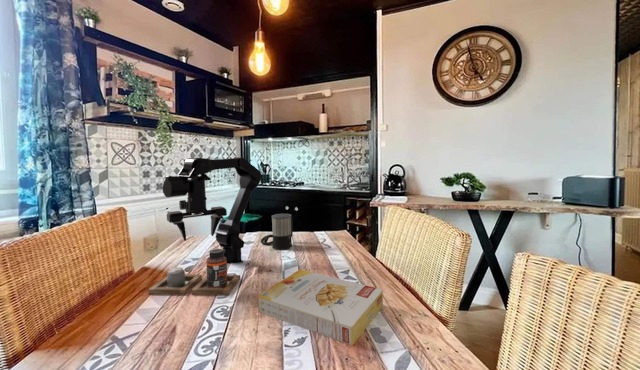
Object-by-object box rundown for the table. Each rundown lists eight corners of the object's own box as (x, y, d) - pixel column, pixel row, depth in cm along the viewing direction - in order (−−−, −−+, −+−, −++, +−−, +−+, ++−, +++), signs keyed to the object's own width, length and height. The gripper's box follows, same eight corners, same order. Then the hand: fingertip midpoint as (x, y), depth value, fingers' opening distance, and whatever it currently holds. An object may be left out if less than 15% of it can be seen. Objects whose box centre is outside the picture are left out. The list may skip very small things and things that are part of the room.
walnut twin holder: (169, 281, 97) (169, 274, 97) (240, 282, 96) (240, 275, 96) (148, 297, 86) (148, 289, 86) (228, 298, 85) (228, 290, 85)
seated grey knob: (173, 282, 94) (172, 266, 94) (188, 282, 94) (187, 266, 93) (164, 289, 89) (163, 272, 89) (180, 289, 89) (179, 272, 88)
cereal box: (299, 267, 94) (384, 286, 80) (300, 284, 95) (384, 305, 80) (255, 295, 77) (354, 324, 62) (256, 314, 77) (354, 348, 63)
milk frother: (290, 250, 129) (290, 217, 128) (255, 250, 129) (254, 217, 128) (294, 241, 143) (294, 211, 142) (262, 241, 144) (261, 211, 142)
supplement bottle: (221, 291, 88) (220, 254, 87) (203, 289, 89) (201, 253, 88) (230, 282, 93) (229, 248, 92) (213, 281, 94) (212, 247, 93)
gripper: (216, 190, 113) (218, 229, 114) (162, 194, 102) (165, 237, 103) (226, 192, 104) (228, 235, 106) (168, 197, 93) (171, 245, 94)
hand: (199, 238), depth 102 cm, fingers open, 9 cm apart
